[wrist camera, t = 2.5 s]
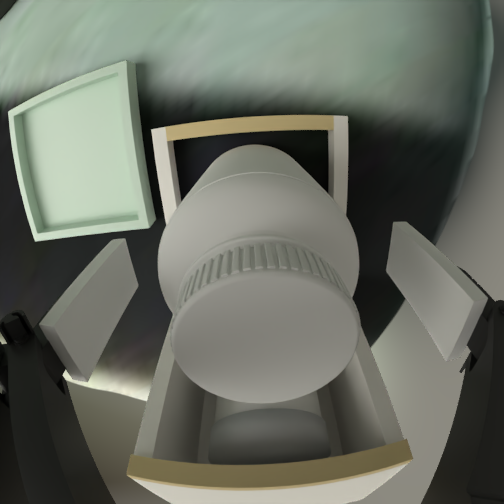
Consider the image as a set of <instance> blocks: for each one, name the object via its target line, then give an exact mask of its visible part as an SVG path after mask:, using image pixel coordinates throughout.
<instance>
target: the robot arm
mask: <svg viewBox="0 0 504 504" xmlns="http://www.w3.org/2000/svg"><path fill="white" fill-rule="evenodd" d="M15 1H16V0H0V19H1V18H2V16H3V15H4V14H5V13H6V12H7V11H8V9H9V8H10V7H11V6H12V4H13V3H14V2H15ZM386 272H387V273H388V275H389V276H390V277H391V279H392V280H393V281H394V283H395V284H396V286H397V287H398V288H399V290H400V291H401V293H402V294H403V295H404V297H405V298H406V300H407V301H408V302H409V304H410V305H411V307H412V308H413V310H414V311H415V313H416V314H417V316H418V317H419V319H420V320H421V322H422V323H423V325H424V327H425V328H426V330H427V331H428V333H429V334H430V336H431V338H432V339H433V341H434V342H435V344H436V346H437V347H438V349H439V351H440V352H441V354H442V355H443V357H444V359H445V361H446V362H447V361H450V360H454V359H456V358H460V357H461V355H462V353H463V351H464V350H465V348H466V346H468V347H469V349H470V350H471V352H470V354H469V356H468V357H467V359H466V361H465V363H464V364H463V367H462V368H461V370H460V373H462V371H463V370H464V369H465V368H466V369H465V375H464V380H463V385H462V389H461V394H460V398H459V402H458V406H457V410H456V414H455V417H454V421H453V425H452V428H451V431H450V434H449V437H448V440H447V443H446V447H445V449H444V452H443V454H442V457H441V460H440V462H439V465H438V467H437V470H436V472H435V475H434V477H433V479H432V481H431V484H430V486H429V488H428V490H427V493H426V494H425V496H424V498H423V501H422V503H421V504H504V301H503V300H498V301H496V302H495V301H494V300H493V299H492V298H491V297H490V296H489V295H488V294H487V292H486V291H485V290H484V289H483V288H482V287H481V286H480V285H479V284H477V282H476V281H475V280H474V279H472V278H471V276H470V275H469V274H468V273H467V272H466V271H464V270H463V269H461V268H459V267H458V266H456V265H455V264H454V263H453V262H452V261H451V260H450V259H448V258H447V257H446V256H445V255H444V254H443V253H442V252H441V251H440V250H439V249H437V248H436V247H435V246H434V245H433V244H432V243H431V242H430V241H428V240H427V239H426V238H425V237H424V236H423V235H421V234H420V233H419V232H418V231H417V230H416V229H414V228H413V227H412V226H411V225H409V224H408V223H407V222H393V228H392V236H391V243H390V249H389V256H388V262H387V267H386ZM137 287H138V283H137V280H136V276H135V273H134V270H133V266H132V263H131V259H130V255H129V252H128V248H127V244H126V240H125V239H115V240H112V241H111V242H110V243H109V244H108V245H107V246H106V247H105V248H104V249H103V250H102V251H101V252H100V253H99V254H98V255H97V256H96V257H95V258H94V259H93V261H92V262H91V263H90V264H89V265H88V266H87V267H86V268H85V269H84V270H83V272H82V273H81V274H80V275H79V276H78V277H77V278H76V280H75V281H74V282H73V283H72V284H71V285H70V286H69V288H68V289H67V290H66V291H65V292H64V293H63V294H61V295H60V296H59V297H58V298H57V299H56V301H55V302H54V303H53V305H51V307H50V308H49V311H47V312H46V313H45V314H44V316H43V317H42V318H41V319H40V321H39V322H38V323H37V325H36V326H35V327H34V328H32V326H31V324H30V322H29V321H28V319H27V317H26V315H25V313H24V312H23V311H22V310H16V311H13V312H11V313H9V314H7V315H6V316H5V317H4V318H3V319H2V320H1V321H0V332H1V334H2V336H3V337H4V339H5V340H6V342H7V344H1V342H0V386H1V387H2V389H3V391H2V394H1V393H0V504H116V503H115V501H114V500H113V498H112V496H111V494H110V492H109V491H108V489H107V487H106V485H105V483H104V481H103V479H102V477H101V475H100V473H99V471H98V468H97V466H96V464H95V462H94V459H93V457H92V455H91V453H90V450H89V448H88V445H87V443H86V441H85V438H84V435H83V433H82V430H81V427H80V424H79V421H78V419H77V416H76V413H75V410H74V406H73V403H72V400H71V397H70V393H69V390H68V386H67V382H66V380H65V378H64V377H63V376H62V375H63V373H64V371H65V369H66V370H67V372H68V373H69V375H70V376H71V377H72V379H74V380H79V381H84V382H88V380H89V378H90V376H91V374H92V372H93V370H94V368H95V366H96V364H97V362H98V360H99V358H100V356H101V354H102V352H103V350H104V348H105V346H106V344H107V342H108V340H109V338H110V336H111V334H112V332H113V330H114V329H115V327H116V325H117V323H118V321H119V319H120V317H121V316H122V314H123V312H124V310H125V308H126V307H127V305H128V303H129V301H130V299H131V298H132V296H133V294H134V292H135V291H136V289H137Z"/></svg>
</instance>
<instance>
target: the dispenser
mask: <svg viewBox="0 0 504 504" xmlns="http://www.w3.org/2000/svg"><path fill="white" fill-rule="evenodd" d="M277 130H328V151H329V181H328V194H329V195H330V196H331V197H332V198H333V199H334V201H335V202H336V203H337V204H338V205H339V207H340V208H341V209H342V211H343V212H344V213H345V215H346V209H347V186H348V116H334V115H276V116H255V117H241V118H229V119H219V120H210V121H201V122H194V123H187V124H180V125H174V126H168V127H162V128H156V129H151V131H152V139H153V147H154V154H155V161H156V168H157V175H158V181H159V187H160V193H161V199H162V204H163V210H164V215H165V221H166V225H167V223H168V222H169V220H170V218H171V216H172V215H173V213H174V212H175V210H176V209H177V207H178V206H179V205H180V203H181V196H180V189H179V183H178V176H177V168H176V161H175V153H174V145H173V140H179V139H186V138H193V137H201V136H210V135H219V134H230V133H242V132H257V131H277ZM173 316H174V315H173ZM172 319H173V317H172ZM171 323H172V320H171ZM171 323H170V326H169V329H168V332H167V335H166V339H165V342H164V345H163V348H162V352H161V355H160V358H159V361H158V365H157V368H156V372H155V375H154V379H153V382H152V386H151V389H150V393H149V396H148V400H147V404H146V408H145V411H144V415H143V419H142V423H141V427H140V431H139V435H138V439H137V443H136V447H135V452H134V455H131V456H130V461H129V465H128V469H127V475H128V476H129V477H131V478H132V479H134V480H135V481H136V482H138V483H139V484H141V485H142V486H144V487H145V488H147V489H148V490H150V491H151V492H153V493H155V494H156V495H158V496H160V497H161V498H163V499H165V500H167V501H168V502H170V503H172V504H345V503H350V502H354V501H359V500H362V499H363V498H365V497H366V496H367V495H369V494H370V493H372V492H373V491H374V490H376V489H377V488H378V487H380V486H381V485H382V484H384V483H385V482H386V481H387V480H389V479H390V478H391V477H393V476H394V475H395V474H396V473H397V472H398V471H400V470H401V469H402V468H403V467H404V466H406V465H407V464H408V463H409V462H410V461H411V460H412V459H413V457H412V454H411V451H410V448H409V444H408V441H407V439H405V440H404V438H403V435H402V432H401V429H400V426H399V423H398V420H397V417H396V414H395V412H394V409H393V406H392V404H391V400H390V398H389V395H388V392H387V390H386V387H385V385H384V382H383V379H382V377H381V374H380V372H379V369H378V366H377V364H376V362H375V359H374V357H373V354H372V352H371V349H370V347H369V344H368V342H367V340H366V337H365V335H364V333H363V330H362V328H361V330H360V332H361V333H360V337H359V342H358V345H357V348H356V351H355V353H354V355H353V357H352V359H351V360H350V362H349V363H348V365H347V366H346V367H345V368H344V370H343V371H342V372H341V373H340V374H339V375H338V376H337V377H335V378H334V379H333V380H332V381H330V382H329V383H328V384H326V385H325V386H323V387H321V388H319V389H318V390H316V391H314V392H312V393H309V394H307V395H304V396H301V397H298V398H295V399H291V400H287V401H282V402H275V403H246V402H239V401H234V400H230V399H226V398H223V397H220V396H217V395H215V394H213V393H211V392H209V391H207V390H205V389H203V388H202V387H200V386H199V385H197V384H196V383H195V382H193V381H192V380H191V379H190V378H189V377H188V376H187V375H186V374H185V373H184V372H183V370H182V369H181V368H180V366H179V364H178V363H177V361H176V359H175V357H174V353H173V352H172V347H171V344H170V342H171V340H170V328H171Z"/></svg>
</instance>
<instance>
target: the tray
mask: <svg viewBox="0 0 504 504" xmlns="http://www.w3.org/2000/svg"><path fill="white" fill-rule="evenodd" d="M8 115H9V126H10V135H11V142H12V149H13V156H14V161H15V167H16V172H17V177H18V182H19V186H20V191H21V195H22V199H23V203H24V206H25V210H26V214H27V217H28V221H29V224H30V227H31V230H32V234H33V237H34V240H35V241H42V240H49V239H57V238H64V237H72V236H81V235H89V234H97V233H106V232H115V231H125V230H134V229H144V228H150V227H151V225H152V224H153V223H154V221H155V220H156V217H155V211H154V206H153V201H152V195H151V190H150V184H149V178H148V172H147V166H146V159H145V152H144V145H143V138H142V130H141V121H140V112H139V102H138V91H137V79H136V64H135V63H133V62H130V61H127V60H126V61H122V62H119V63H116V64H113V65H110V66H107V67H104V68H101V69H98V70H95V71H92V72H90V73H87V74H84V75H82V76H79V77H77V78H74V79H72V80H70V81H67V82H65V83H63V84H60V85H58V86H56V87H54V88H52V89H50V90H47V91H45V92H43V93H41V94H39V95H37V96H35V97H34V98H32V99H30V100H28V101H26V102H24V103H22V104H21V105H19V106H17V107H15V108H14V109H12V110H10V111H9V112H8Z"/></svg>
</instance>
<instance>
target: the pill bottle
mask: <svg viewBox="0 0 504 504" xmlns="http://www.w3.org/2000/svg"><path fill="white" fill-rule="evenodd" d="M358 274H359V253H358V245H357V240H356V237H355V233H354V231H353V228H352V226H351V224H350V222H349V220H348V218H347V217H346V215H345V213H344V212H343V211H342V209H341V208H340V207H339V205H338V204H337V203H336V202H335V201H334V199H333V198H332V197H331V196H330V195H329V194H328V193H327V192H326V191H325V190H324V189H323V188H322V187H321V186H320V185H319V184H318V183H317V182H316V181H315V180H314V179H313V178H312V177H311V176H310V175H309V174H308V173H307V172H306V171H305V170H304V169H303V168H302V167H301V166H300V165H299V164H298V163H297V162H296V161H295V160H294V159H293V158H292V157H290V156H289V155H288V154H286V153H284V152H283V151H281V150H279V149H276V148H273V147H270V146H266V145H244V146H240V147H237V148H234V149H231V150H229V151H227V152H225V153H224V154H222V155H221V156H220V157H218V158H217V159H216V160H215V161H214V162H213V163H212V164H211V165H210V166H209V168H208V169H207V170H206V171H205V173H204V174H203V175H202V176H201V178H200V179H199V180H198V181H197V183H196V184H195V185H194V186H193V188H192V189H191V190H190V192H189V193H188V194H187V196H186V197H185V198H184V199H183V201H182V202H181V203H180V205H179V206H178V207H177V209H176V210H175V212H174V213H173V215H172V216H171V218H170V220H169V222H168V223H167V225H166V228H165V230H164V232H163V235H162V238H161V241H160V246H159V252H158V275H159V282H160V286H161V290H162V293H163V296H164V298H165V301H166V303H167V305H168V307H169V308H170V310H171V312H172V313H173V315H174V316H173V319H172V323H171V328H170V340H171V342H170V344H171V347H172V352H173V353H174V357H175V359H176V361H177V363H178V364H179V366H180V368H181V369H182V370H183V372H184V373H185V374H186V375H187V376H188V377H189V378H190V379H191V380H192V381H193V382H195V383H196V384H197V385H199V386H200V387H202V388H203V389H205V390H207V391H209V392H211V393H213V394H215V395H217V396H220V397H223V398H226V399H230V400H234V401H239V402H246V403H275V402H282V401H287V400H291V399H295V398H298V397H301V396H304V395H307V394H309V393H312V392H314V391H316V390H318V389H319V388H321V387H323V386H325V385H326V384H328V383H329V382H330V381H332V380H333V379H334V378H335V377H337V376H338V375H339V374H340V373H341V372H342V371H343V370H344V368H345V367H346V366H347V365H348V363H349V362H350V360H351V359H352V357H353V355H354V353H355V351H356V348H357V345H358V342H359V337H360V333H361V332H360V330H361V325H360V323H361V322H360V317H359V313H358V310H357V307H356V305H355V303H354V301H353V299H352V297H353V294H354V292H355V288H356V285H357V280H358Z"/></svg>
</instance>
